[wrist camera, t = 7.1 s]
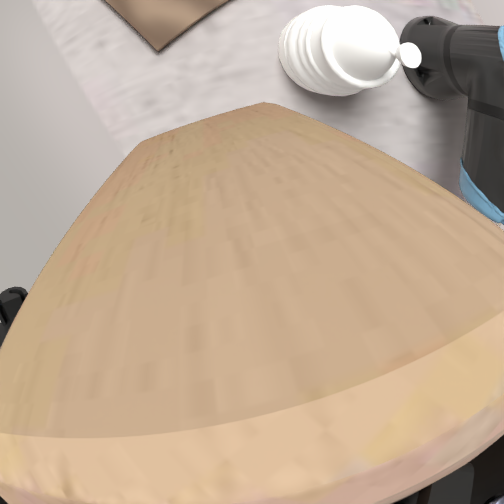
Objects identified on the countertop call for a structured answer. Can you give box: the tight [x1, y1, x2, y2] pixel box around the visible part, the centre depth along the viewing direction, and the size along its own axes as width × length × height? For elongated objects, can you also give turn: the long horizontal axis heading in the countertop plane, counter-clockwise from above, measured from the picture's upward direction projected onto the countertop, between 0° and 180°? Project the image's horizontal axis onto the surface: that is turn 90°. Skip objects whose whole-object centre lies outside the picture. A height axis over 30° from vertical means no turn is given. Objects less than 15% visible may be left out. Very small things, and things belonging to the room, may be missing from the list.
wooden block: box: [0, 102, 504, 504], centre depth 13 cm, size 10×10×20 cm
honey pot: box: [278, 5, 421, 96], centre depth 27 cm, size 13×13×18 cm
